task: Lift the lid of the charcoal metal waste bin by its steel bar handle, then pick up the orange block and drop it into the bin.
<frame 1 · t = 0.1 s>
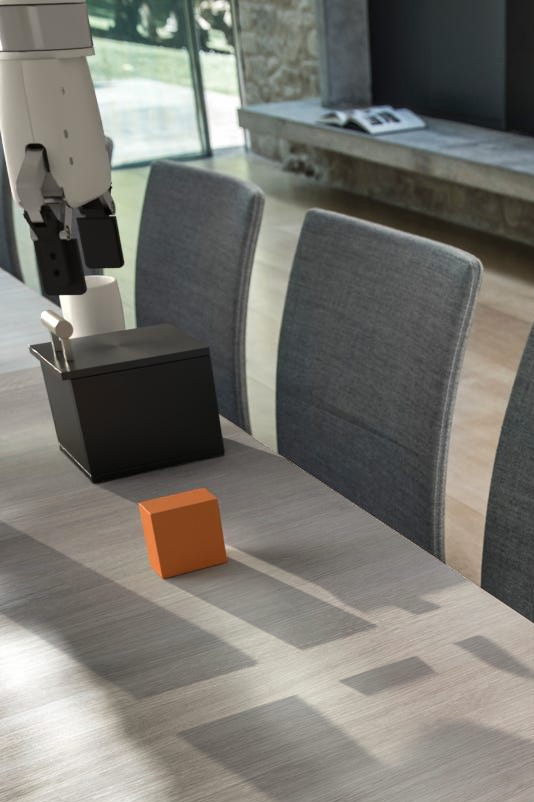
hand: (87, 280, 93), 23 cm above the table, tool pointing down, fingers open, 9 cm apart
bin: (141, 452, 127), on the table
bin lid: (114, 330, 120), point 13 cm above the table, hinge at 0.0°
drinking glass: (113, 411, 140), on the table
orange block: (189, 564, 102), on the table
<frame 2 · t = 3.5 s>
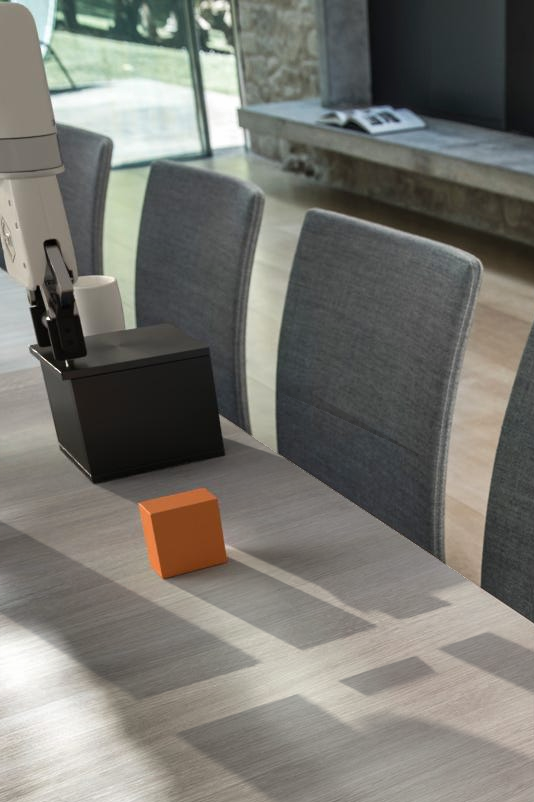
hand: (62, 349, 118), 12 cm above the table, tool pointing down, fingers closed on bin lid, 5 cm apart
bin lid: (114, 330, 120), point 13 cm above the table, hinge at 0.0°, touching gripper
everything else where it was.
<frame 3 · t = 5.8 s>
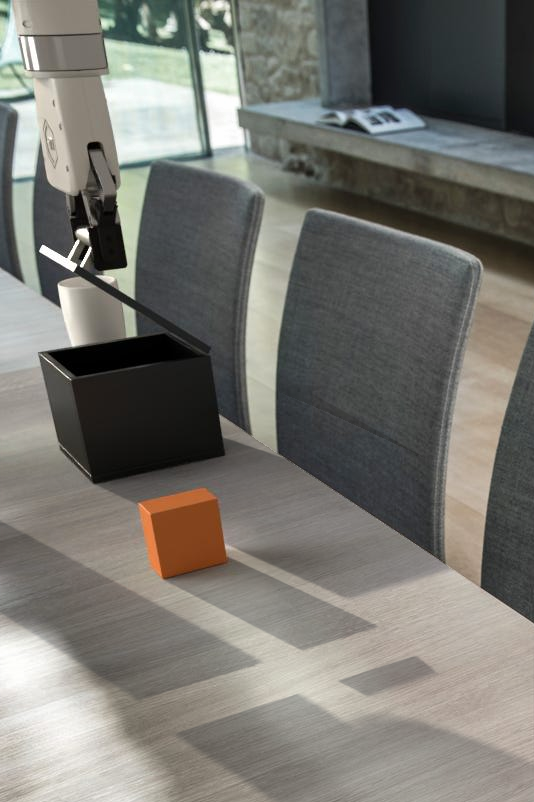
hand: (101, 261, 116), 20 cm above the table, tool pointing down, fingers closed on bin lid, 5 cm apart
bin lid: (134, 282, 119), point 18 cm above the table, hinge at 39.0°, touching gripper
everything else where it was.
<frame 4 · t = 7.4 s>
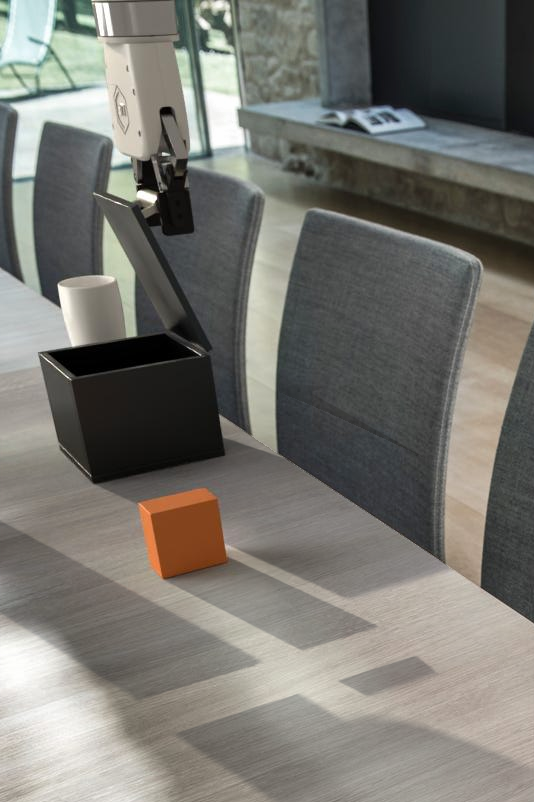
hand: (168, 227, 118), 22 cm above the table, tool pointing down, fingers closed on bin lid, 5 cm apart
bin lid: (169, 261, 120), point 19 cm above the table, hinge at 69.8°, touching gripper
everything else where it was.
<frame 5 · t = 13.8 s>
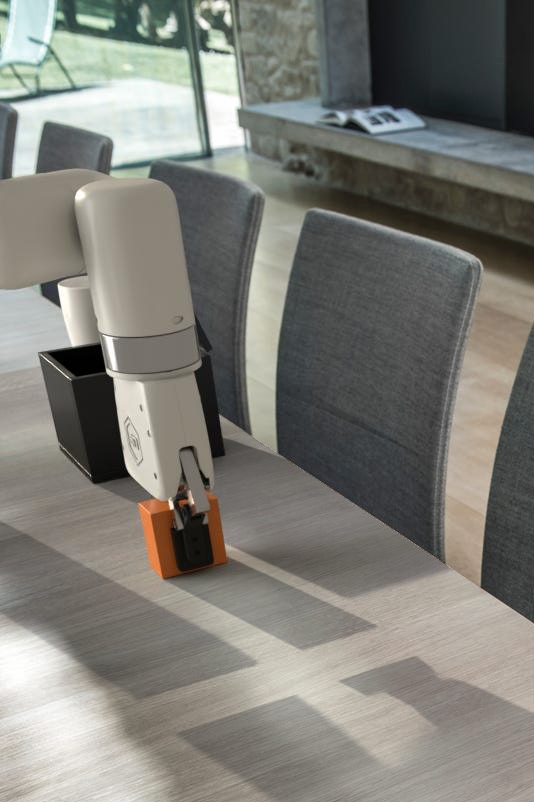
hand: (188, 557, 102), 1 cm above the table, tool pointing down, fingers closed on orange block, 3 cm apart
bin lid: (169, 261, 120), point 19 cm above the table, hinge at 70.3°
orange block: (189, 564, 102), on the table, touching gripper
everything else where it was.
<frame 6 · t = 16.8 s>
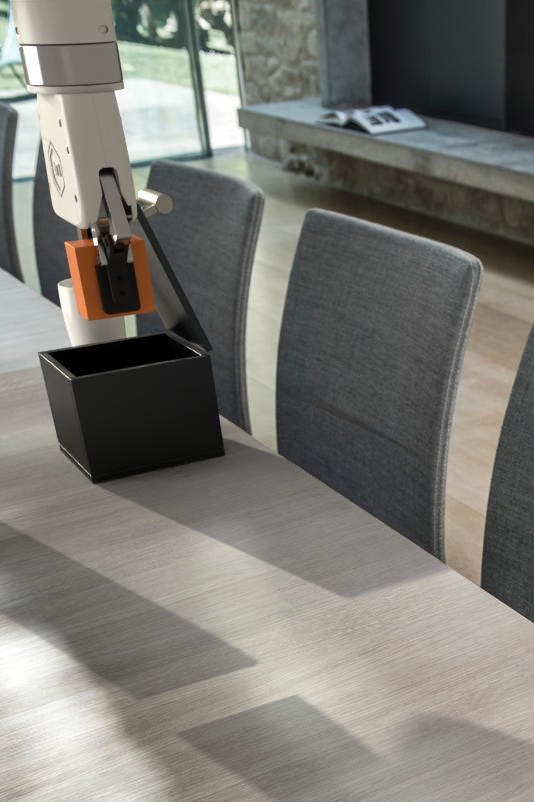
hand: (115, 305, 102), 20 cm above the table, tool pointing down, fingers closed on orange block, 3 cm apart
orange block: (117, 312, 102), point 19 cm above the table, touching gripper
everything else where it was.
when the fingers open (14 cm above the table, at t = 19.9 s): orange block drops 13 cm, resting on bin.
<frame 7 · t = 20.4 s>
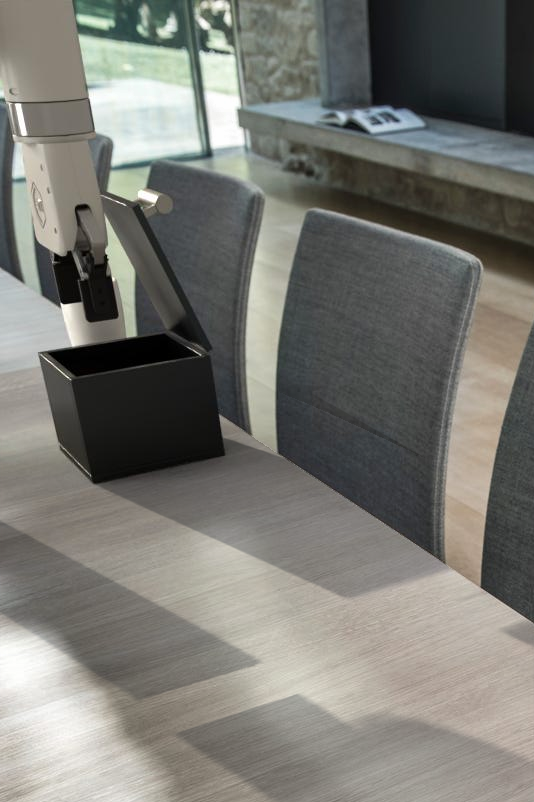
hand: (88, 310, 118), 16 cm above the table, tool pointing down, fingers open, 8 cm apart
orange block: (118, 450, 126), point 1 cm above the table, touching bin
everything else where it was.
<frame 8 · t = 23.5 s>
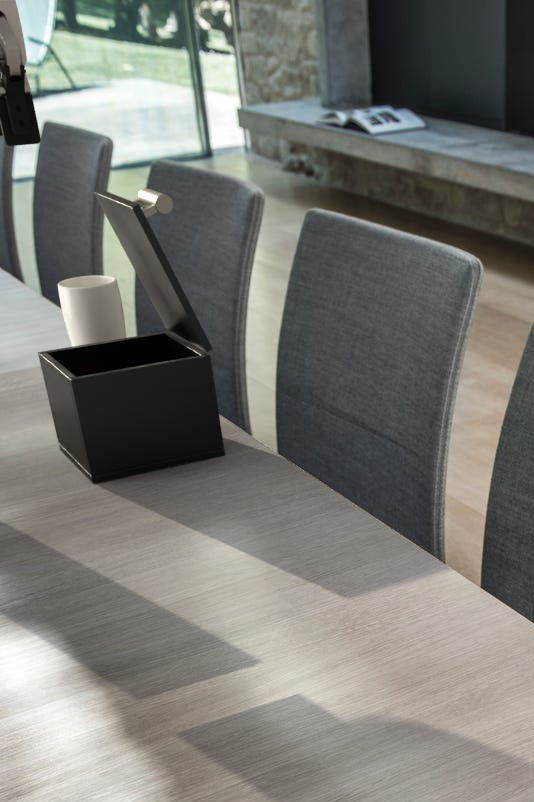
hand: (10, 139, 110), 31 cm above the table, tool pointing down, fingers open, 9 cm apart
nothing on the table moved.
at the end: bin lid at +70° (first picture: +0°); orange block inside the target area in the bin (2.5 cm from its centre), point 0.8 cm above the bin's base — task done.
